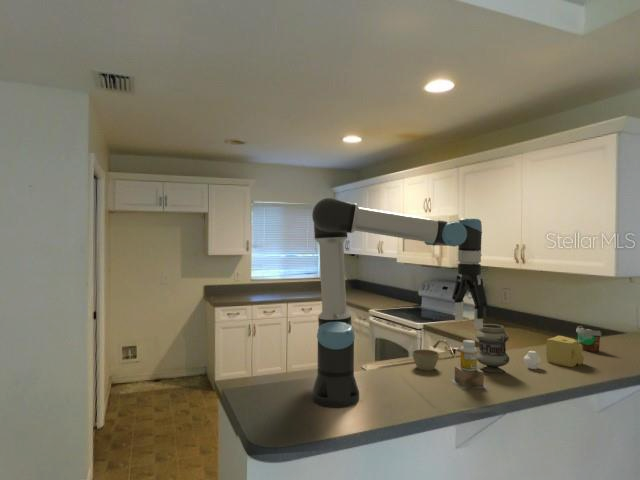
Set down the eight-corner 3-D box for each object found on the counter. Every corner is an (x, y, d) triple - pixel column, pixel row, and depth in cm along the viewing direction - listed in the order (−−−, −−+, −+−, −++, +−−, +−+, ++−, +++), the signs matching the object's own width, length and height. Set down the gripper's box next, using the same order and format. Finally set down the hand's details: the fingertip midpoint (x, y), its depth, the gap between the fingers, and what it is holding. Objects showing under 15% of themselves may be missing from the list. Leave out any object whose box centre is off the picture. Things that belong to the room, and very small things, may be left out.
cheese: (583, 363, 175) (583, 339, 175) (571, 368, 169) (571, 343, 169) (557, 358, 184) (558, 335, 184) (544, 362, 177) (545, 338, 177)
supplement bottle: (461, 365, 150) (461, 338, 150) (477, 368, 148) (477, 340, 148) (459, 370, 145) (459, 341, 145) (476, 372, 143) (476, 343, 143)
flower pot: (439, 375, 158) (439, 356, 158) (412, 373, 160) (412, 355, 160) (437, 367, 168) (437, 349, 168) (412, 366, 170) (412, 348, 170)
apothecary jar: (473, 366, 170) (473, 322, 170) (505, 368, 168) (505, 323, 168) (478, 376, 158) (478, 328, 158) (512, 378, 156) (513, 329, 156)
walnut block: (464, 387, 143) (464, 372, 143) (454, 380, 150) (454, 366, 150) (483, 386, 144) (483, 371, 144) (473, 379, 151) (473, 365, 151)
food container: (569, 346, 203) (569, 325, 203) (581, 346, 204) (581, 325, 204) (588, 353, 191) (588, 331, 191) (601, 353, 192) (601, 331, 192)
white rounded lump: (544, 369, 167) (544, 351, 167) (534, 371, 164) (534, 353, 164) (530, 365, 173) (530, 347, 173) (520, 366, 170) (520, 349, 170)
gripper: (499, 265, 135) (498, 331, 135) (462, 261, 160) (461, 317, 160) (477, 265, 134) (476, 332, 134) (443, 261, 158) (442, 317, 158)
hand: (468, 324), depth 147 cm, fingers open, 13 cm apart
